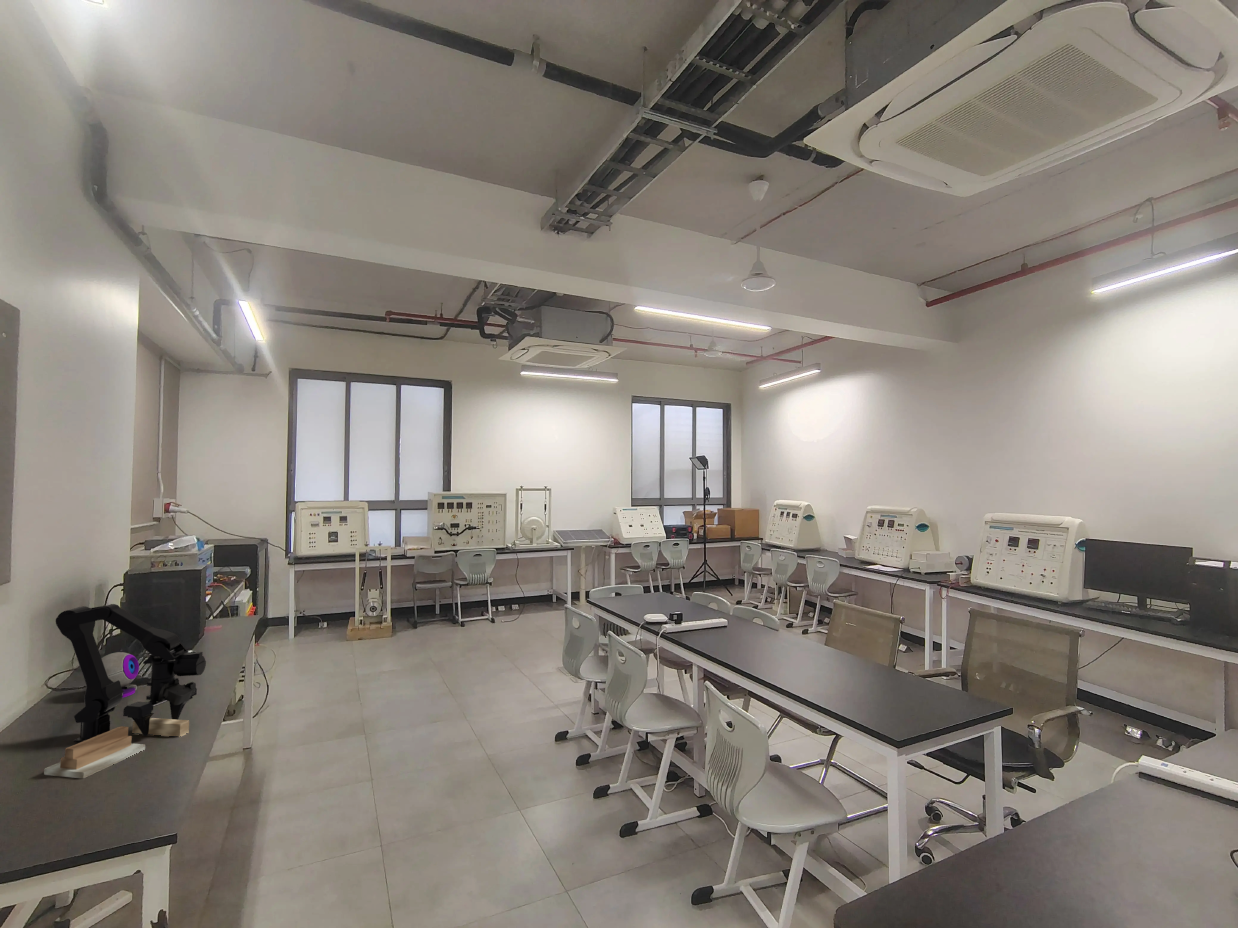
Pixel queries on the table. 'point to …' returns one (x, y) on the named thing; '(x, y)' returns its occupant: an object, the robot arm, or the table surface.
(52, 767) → the ridge stand
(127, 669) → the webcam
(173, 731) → the light wooden block
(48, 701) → the table surface
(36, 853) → the table surface
